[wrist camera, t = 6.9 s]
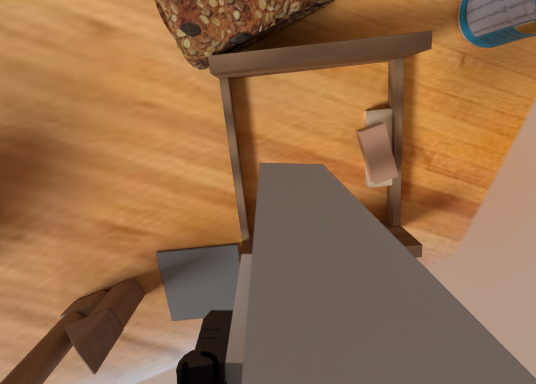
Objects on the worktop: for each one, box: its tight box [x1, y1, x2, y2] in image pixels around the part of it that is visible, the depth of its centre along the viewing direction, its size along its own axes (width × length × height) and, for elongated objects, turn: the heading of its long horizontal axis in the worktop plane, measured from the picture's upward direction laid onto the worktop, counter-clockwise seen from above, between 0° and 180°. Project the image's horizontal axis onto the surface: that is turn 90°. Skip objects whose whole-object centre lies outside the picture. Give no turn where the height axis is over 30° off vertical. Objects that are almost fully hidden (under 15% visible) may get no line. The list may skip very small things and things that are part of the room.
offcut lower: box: [365, 108, 393, 188], centre depth 39 cm, size 10×3×2 cm, turn 6°
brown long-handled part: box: [0, 278, 144, 384], centre depth 37 cm, size 4×11×18 cm, turn 113°
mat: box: [156, 244, 240, 321], centre depth 45 cm, size 12×12×1 cm
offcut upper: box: [356, 122, 398, 184], centre depth 38 cm, size 7×3×2 cm, turn 20°
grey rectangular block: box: [242, 163, 536, 384], centre depth 11 cm, size 10×4×18 cm, turn 179°
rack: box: [208, 31, 432, 269], centre depth 36 cm, size 25×22×8 cm
